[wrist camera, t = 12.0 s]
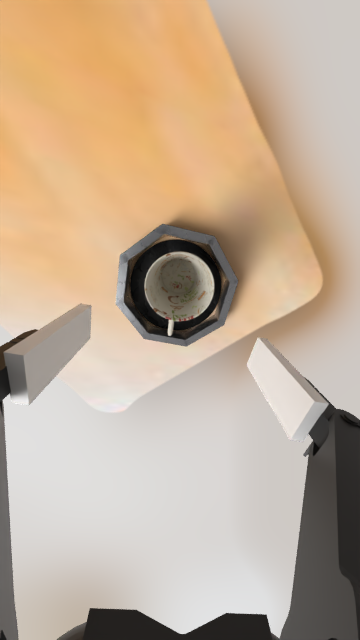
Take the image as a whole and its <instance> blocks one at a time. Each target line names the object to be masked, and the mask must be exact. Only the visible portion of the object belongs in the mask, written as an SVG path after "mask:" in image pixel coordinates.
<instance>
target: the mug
mask: <svg viewBox="0 0 360 640" xmlns="http://www.w3.org/2000/svg"><path fill="white" fill-rule="evenodd" d="M145 294H146V298H147V300H148V302H149V304H150V306H151V307H152V309H153V310H154V311H155V312H156V313H158V314H159V315H160V316H162V317H164V318H166V319H169V324H168V335H169V336H171V335H172V333H173V327H174V321H186V320H190V319H193V318H195V317H197V316H199V315H200V314H201V313H203V312H204V311H205V310H206V308H207V307H208V306H209V304H210V302H211V300H212V298H213V294H214V278H213V275H212V272H211V270H210V268H209V267H208V265H207V264H206V263H205V262H204V261H203V260H202V259H201V258H199V257H198V256H196V255H194V254H191V253H188V252H171V253H168V254H165V255H163V256H162V257H160V258H159V259H157V260H156V261H155V262H154V263H153V264H152V266H151V267H150V269H149V271H148V273H147V275H146V279H145Z"/></svg>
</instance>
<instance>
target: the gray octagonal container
mask: <svg viewBox="0 0 360 640" xmlns="http://www.w3.org/2000/svg"><path fill="white" fill-rule="evenodd" d="M165 235H168V236H172V237H176V238H180V239H185V240H189V241H193V242H197V243H202V244H206V245H207V247H208V249H209V251H210V252H211V254H212V256H213V258H214V260H215V261H216V263H217V265H218V267H219V269H220V271H221V272H222V274H223V276H224V278H225V282H224V286H223V289H222V292H221V278H220V273H219V270H218V268H217V266H216V263H215V262H214V260H213V259H212V257H211V256H210V255H209V254H208V253H207V252H206V251H205V250H204V249H202V248H201V247H199V246H197V245H195V244H193V243H190V242H187V241H182V240H169V241H164V242H160V243H158V244H156V245H154V246H152V247H151V248H149V249H148V250H147V251H145V252H144V253H143V254H142V255H141V257H140V258H139V259H138V261H137V262H136V264H135V266H134V268H133V271H132V275H131V282H130V274H131V266H132V259H133V258H135V257H136V256H137V255H139V254H140V253H141V252H143V251H144V250H146V249H147V248H148V247H150V246H151V245H153V244H154V243H155V242H157V241H158V240H159V239H161V238H162V237H164V236H165ZM171 252H188V253H191V254H194V255H196V256H198V257H199V258H201V259H202V260H203V261H204V262H205V263H206V264H207V265H208V267H209V268H210V270H211V272H212V275H213V278H214V294H213V298H212V300H211V302H210V304H209V306H208V307H207V308H206V310H205V311H204V312H203V313H201V314H200V315H199V316H197V317H195V318H193V319H190V320H186V321H174V327H173V330H184V329H188V328H191V327H193V328H192V329H190V330H188V331H187V332H185V333H183V332H178V331H173V333H172V335H171V336H169V335H168V330H167V329H168V324H169V319H166V318H164V317H162V316H160V315H159V314H158V313H156V312H155V311H154V310H153V309H152V307H151V306H150V304H149V302H148V300H147V298H146V294H145V279H146V275H147V273H148V271H149V269H150V267H151V266H152V264H153V263H154V262H155V261H156V260H157V259H159V258H160V257H162V256H163V255H165V254H168V253H171ZM129 283H130V288H131V295H132V299H133V301H134V304H135V306H136V307H135V306H134V305H133V304H132V302H131V301H130V300H129V298H128V292H129ZM237 284H238V280H237V278H236V276H235V274H234V272H233V270H232V268H231V266H230V264H229V262H228V261H227V259H226V257H225V255H224V253H223V251H222V249H221V247H220V245H219V243H218V242H217V240H216V238H215V236H211V235H207V234H203V233H199V232H194V231H190V230H186V229H182V228H178V227H174V226H169V225H165V224H162V225H160V226H159V227H158V228H156V229H155V230H153V231H152V232H151V233H149V234H148V235H147V236H145V237H144V238H143V239H141V240H140V241H139V242H137V243H136V244H135V245H133V246H132V247H130V248H129V249H128V250H126V251H125V252H124V253H122V254H121V255H120V261H119V272H118V283H117V294H116V305H117V306H118V307H119V309H120V310H121V311H122V312H123V314H124V315H125V316H126V317H127V318H128V320H129V321H130V322H131V323H132V325H133V326H134V327H135V328H136V330H137V331H138V332H139V333H140V334H141V336H142V337H143V338H144V339H148V340H153V341H159V342H165V343H170V344H176V345H181V346H188V345H190V344H192V343H193V342H195V341H197V340H199V339H200V338H202V337H204V336H205V335H207V334H209V333H211V332H212V331H214V330H216V329H218V328H219V327H221V326H223V325H224V324H225V320H226V317H227V314H228V311H229V308H230V305H231V302H232V299H233V296H234V293H235V290H236V287H237ZM220 293H221V296H220ZM219 297H220V299H219ZM218 300H219V302H218ZM217 303H218V306H217V309H216V313H215V315H214V316H212V317H210V318H209V319H207V320H205V319H206V318H208V316H209V315H210V314H211V313H212V312H213V310H214V309H215V307H216V305H217ZM136 308H137V309H138V310H137V309H136ZM139 312H140V313H141V314H140V313H139ZM142 316H143V317H144V318H145V319H147V320H148V321H149V322H151V323H152V324H154V325H156V326H158V327H160V328H156V327H151V326H149V324H148V323H147V322H146V320H145V319H144V318H143V317H142ZM204 320H205V321H204ZM203 321H204V322H203ZM201 322H202V323H201ZM196 325H197V326H196ZM194 326H195V327H194ZM162 328H164V329H162Z"/></svg>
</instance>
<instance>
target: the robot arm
mask: <svg viewBox="0 0 360 640" xmlns="http://www.w3.org/2000/svg"><path fill="white" fill-rule="evenodd" d="M90 330H91V305H86V304H79V305H78V306H76V307H75V308H73V309H71V310H70V311H68V312H67V313H65V314H63V315H62V316H60V317H59V318H57V319H55V320H54V321H52V322H51V323H49V324H47V325H46V326H44V327H43V328H41V329H40V330H35V329H34V330H31V331H28V332H25V333H23V334H21V335H19V336H17V337H16V338H14V339H12V340H11V341H10V342H7V343H6V344H4V345H2V346H0V640H18V630H17V619H16V611H15V604H14V591H13V571H12V553H11V535H10V516H9V499H8V480H7V461H6V445H5V444H6V443H5V427H4V426H5V425H4V407H3V401H2V400H3V399H4V398H5V397H6V396H7V395H8V394H10V395H11V402H12V403H17V404H24V405H30V404H31V403H32V402H33V400H34V399H35V398H36V397H37V396H38V395H39V394H40V393H41V392H42V390H43V389H44V388H45V387H46V386H47V385H48V384H49V383H50V382H51V381H52V379H54V377H55V376H56V375H57V374H58V373H59V372H60V371H61V370H62V369H63V368H64V366H65V365H66V364H67V363H68V362H69V361H70V360H71V359H72V358H73V357H74V355H75V354H76V353H77V352H78V351H79V350H80V349H81V348H82V347H83V346H84V344H85V343H86V342H87V341H88V340H89V339H90ZM247 367H248V369H249V370H250V372H251V374H252V375H253V377H254V379H255V381H256V383H257V384H258V386H259V388H260V389H261V391H262V393H263V394H264V396H265V398H266V400H267V401H268V403H269V405H270V407H271V408H272V410H273V412H274V414H275V415H276V417H277V419H278V420H279V422H280V424H281V426H282V427H283V429H284V431H285V432H286V434H287V436H288V438H289V439H290V440H292V441H299V442H304V440H305V438H306V437H307V436H308V434H309V435H310V436H311V438H312V439H313V442H312V443H311V445H310V446H309V447H308V449H307V450H306V452H305V453H304V456H305V457H306V455H309V457H308V466H307V475H306V482H305V491H304V499H303V507H302V516H301V525H300V532H299V541H298V549H297V557H296V565H295V575H294V583H293V591H292V599H291V606H290V611H289V614H288V617H287V619H286V622H285V624H284V627H283V629H282V632H281V636H280V639H279V638H278V637H276V636H275V635H274V634H272V633H271V631H270V627H269V623H268V619H267V615H262V614H234V613H226V614H224V615H222V616H220V617H218V618H216V619H214V620H212V621H210V622H208V623H206V624H204V625H202V626H201V627H198V628H197V629H195V630H193V631H191V632H189V633H187V634H179V633H177V632H175V631H173V630H172V629H170V628H168V627H166V626H164V625H163V624H161V623H159V622H157V621H155V620H154V619H152V618H150V617H148V616H146V615H145V614H143V613H141V612H139V611H137V610H123V609H122V610H121V609H95V608H90V611H89V615H88V619H87V622H86V623H83V624H81V625H79V626H77V627H75V628H73V629H72V630H70V631H68V632H67V633H65V634H64V635H62V636H61V637H59V638H58V639H57V640H360V420H359V419H358V418H357V417H355V416H354V415H352V414H350V413H349V412H346V411H344V410H341V409H336V408H335V407H334V406H333V405H332V404H331V403H330V402H329V401H328V400H327V399H326V398H325V397H324V396H323V395H322V394H321V393H319V391H318V390H317V389H316V388H314V386H313V385H312V383H311V382H310V381H309V380H307V379H306V378H304V377H303V376H302V375H301V374H300V373H299V372H298V371H297V370H296V369H295V368H294V367H293V366H292V365H291V364H290V363H289V361H288V360H287V359H286V358H285V357H284V356H283V355H282V354H281V353H280V352H279V351H278V350H277V349H276V348H275V347H274V346H273V345H272V344H271V343H270V342H269V341H268V339H265V338H260V337H258V338H257V341H256V343H255V346H254V348H253V351H252V353H251V355H250V358H249V360H248V363H247Z"/></svg>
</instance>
